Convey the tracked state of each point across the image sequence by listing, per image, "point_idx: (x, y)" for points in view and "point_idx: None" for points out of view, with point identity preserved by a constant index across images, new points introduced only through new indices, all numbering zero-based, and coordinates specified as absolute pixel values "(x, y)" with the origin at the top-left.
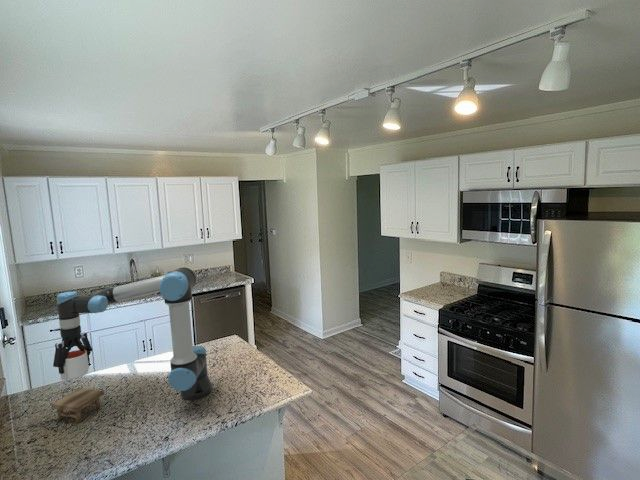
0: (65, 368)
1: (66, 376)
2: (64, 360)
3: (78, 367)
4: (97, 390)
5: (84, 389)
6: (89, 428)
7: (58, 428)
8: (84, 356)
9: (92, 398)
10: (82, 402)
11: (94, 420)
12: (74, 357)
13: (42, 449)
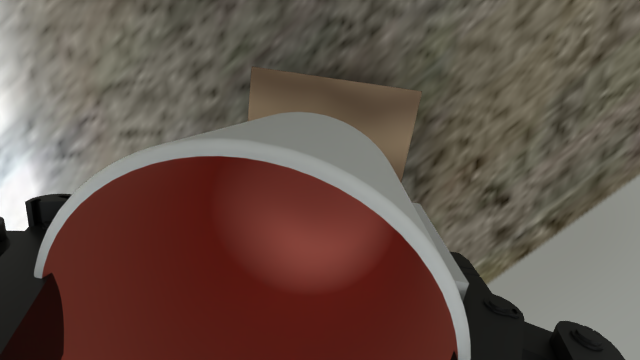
0: (445, 259)
1: (420, 214)
2: (493, 355)
3: (359, 143)
4: (254, 104)
5: None
6: (431, 20)
7: (425, 158)
8: (219, 133)
9: (324, 77)
10: (372, 97)
11: (374, 43)
12: (178, 342)
13: (556, 116)
